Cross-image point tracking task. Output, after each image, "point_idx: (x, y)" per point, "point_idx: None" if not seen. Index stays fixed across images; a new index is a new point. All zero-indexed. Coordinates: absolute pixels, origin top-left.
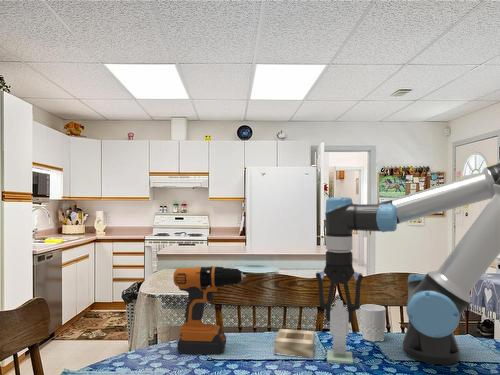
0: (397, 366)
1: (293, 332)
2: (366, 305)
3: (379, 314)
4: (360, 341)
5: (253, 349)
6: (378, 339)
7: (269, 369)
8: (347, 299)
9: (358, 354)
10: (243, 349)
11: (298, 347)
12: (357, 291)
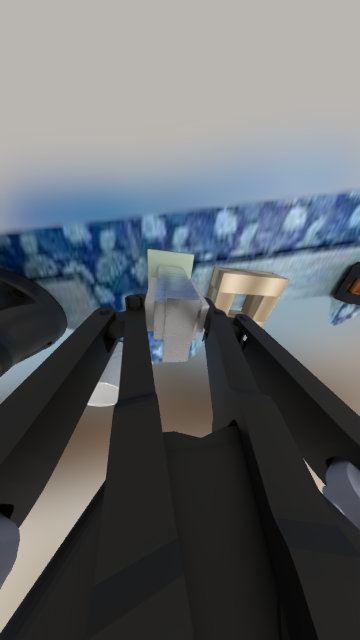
0: (63, 247)
1: None
2: (113, 402)
3: None
4: None
5: (294, 290)
6: None
7: (305, 202)
8: (141, 333)
9: (137, 293)
10: (309, 288)
11: (244, 273)
12: (52, 374)
